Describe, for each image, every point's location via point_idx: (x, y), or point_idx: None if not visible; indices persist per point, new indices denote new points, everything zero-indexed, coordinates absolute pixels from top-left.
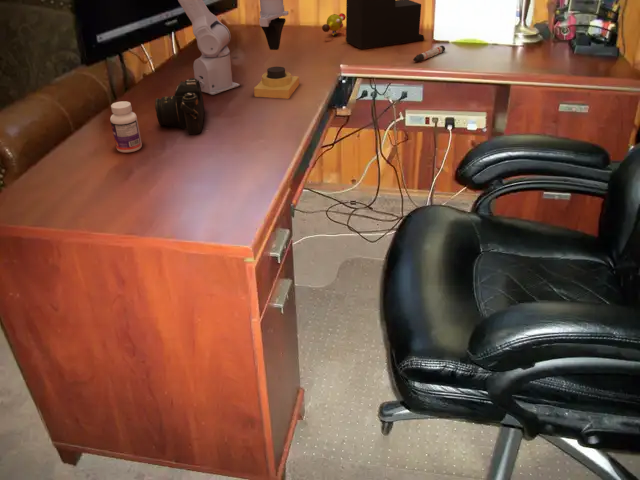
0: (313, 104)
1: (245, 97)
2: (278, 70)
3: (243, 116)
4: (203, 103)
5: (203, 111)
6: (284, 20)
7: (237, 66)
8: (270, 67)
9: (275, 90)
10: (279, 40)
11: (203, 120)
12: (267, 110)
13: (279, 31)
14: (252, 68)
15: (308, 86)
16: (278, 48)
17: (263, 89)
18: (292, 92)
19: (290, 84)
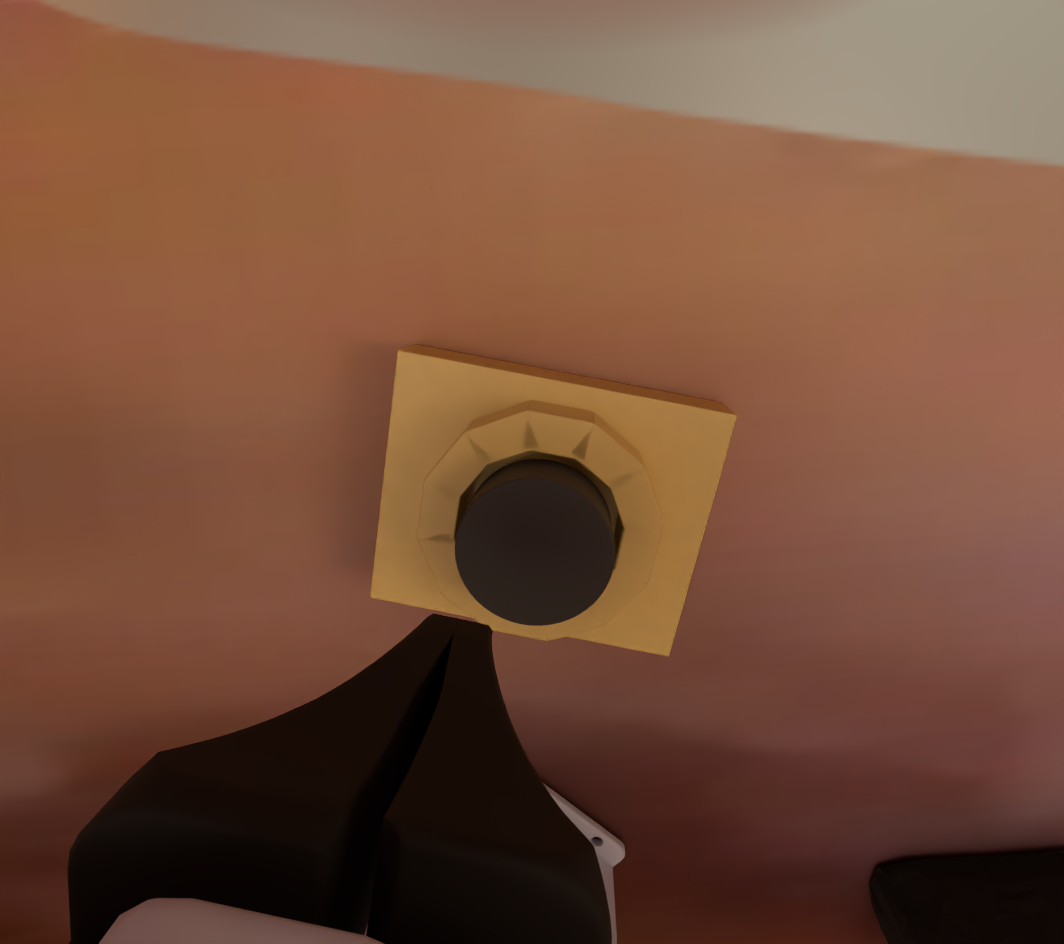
0: (872, 198)
1: (668, 675)
2: (572, 532)
3: (1018, 657)
4: (968, 912)
5: (1051, 889)
6: (258, 818)
7: (83, 765)
8: (486, 604)
9: (708, 508)
10: (435, 659)
11: (1051, 851)
12: (938, 526)
13: (483, 758)
14: (104, 680)
15: (450, 267)
16: (448, 618)
17: (684, 593)
18: (611, 382)
19: (598, 405)
